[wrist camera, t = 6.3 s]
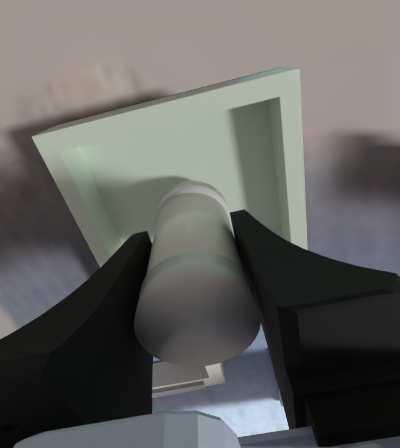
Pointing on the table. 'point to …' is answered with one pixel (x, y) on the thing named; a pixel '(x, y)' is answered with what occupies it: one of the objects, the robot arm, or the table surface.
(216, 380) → the holder
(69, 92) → the table surface
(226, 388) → the table surface
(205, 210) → the cylinder
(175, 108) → the parts tray
